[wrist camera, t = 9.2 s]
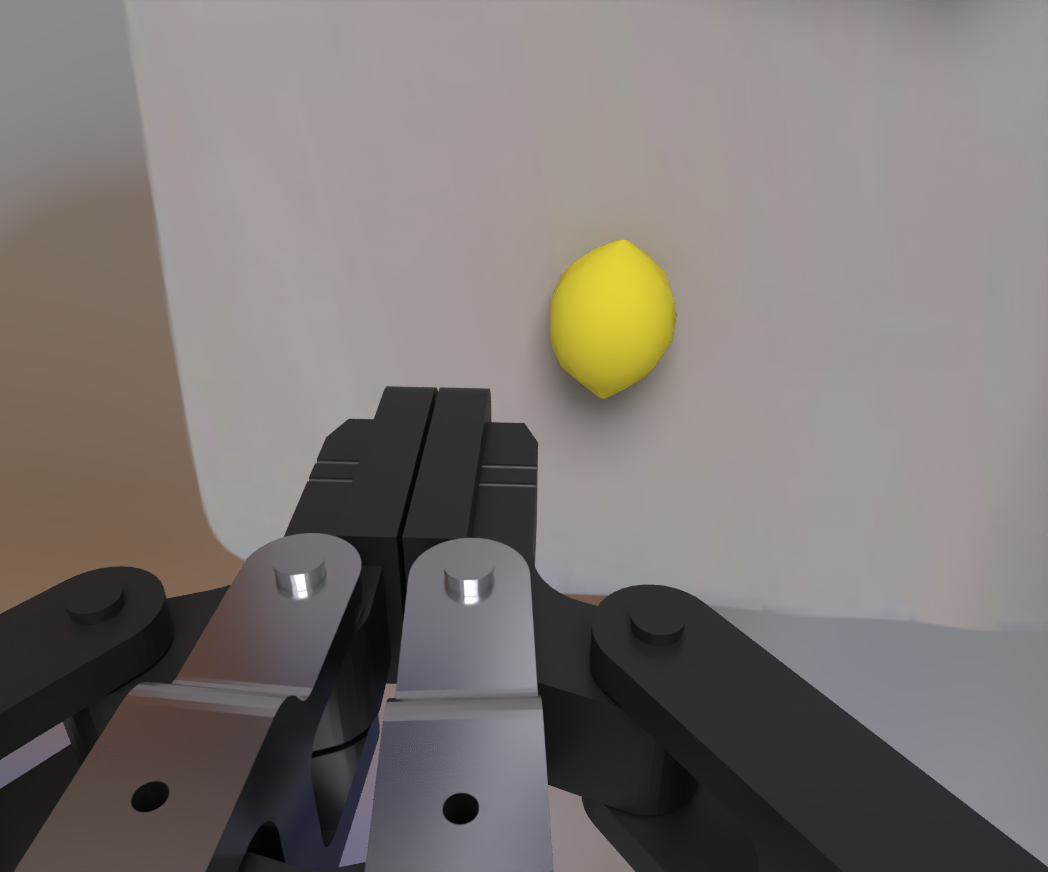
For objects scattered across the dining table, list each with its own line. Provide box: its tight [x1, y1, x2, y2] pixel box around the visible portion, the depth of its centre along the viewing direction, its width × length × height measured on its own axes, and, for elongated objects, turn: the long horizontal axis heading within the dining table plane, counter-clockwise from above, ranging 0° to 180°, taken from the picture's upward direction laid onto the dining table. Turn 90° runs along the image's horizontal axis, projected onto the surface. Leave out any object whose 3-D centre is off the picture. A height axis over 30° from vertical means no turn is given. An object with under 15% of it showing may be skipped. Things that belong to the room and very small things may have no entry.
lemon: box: [551, 240, 677, 399], centre depth 39 cm, size 7×5×5 cm
